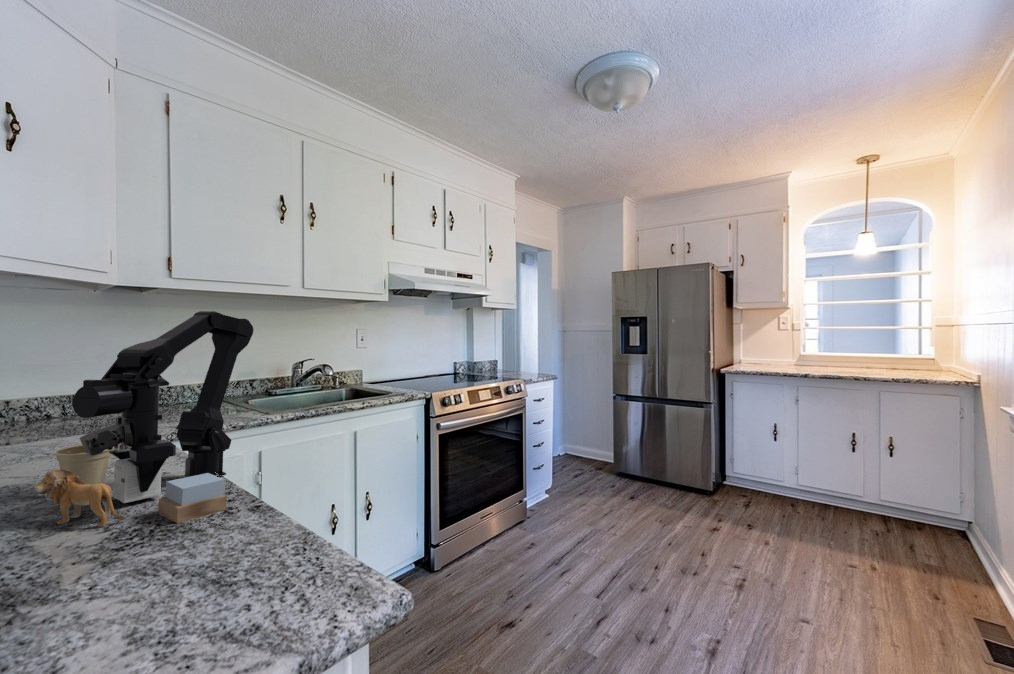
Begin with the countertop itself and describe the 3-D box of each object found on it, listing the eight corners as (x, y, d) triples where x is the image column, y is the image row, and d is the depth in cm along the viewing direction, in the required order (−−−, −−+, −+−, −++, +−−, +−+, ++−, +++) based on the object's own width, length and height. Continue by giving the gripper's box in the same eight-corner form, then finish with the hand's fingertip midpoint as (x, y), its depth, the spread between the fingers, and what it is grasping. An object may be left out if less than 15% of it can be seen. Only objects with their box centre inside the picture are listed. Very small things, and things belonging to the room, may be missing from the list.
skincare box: (112, 497, 87) (113, 460, 87) (150, 489, 92) (151, 454, 92) (123, 504, 83) (124, 465, 84) (161, 495, 88) (162, 458, 89)
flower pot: (83, 497, 89) (85, 454, 89) (38, 496, 89) (40, 453, 89) (125, 483, 98) (126, 444, 98) (83, 481, 98) (85, 443, 99)
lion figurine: (25, 527, 74) (28, 473, 75) (57, 515, 80) (59, 465, 80) (112, 528, 75) (115, 475, 75) (138, 516, 80) (140, 466, 80)
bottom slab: (206, 502, 88) (207, 487, 88) (226, 511, 84) (226, 495, 84) (158, 515, 81) (158, 499, 81) (177, 525, 77) (177, 508, 77)
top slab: (207, 487, 88) (207, 472, 88) (224, 495, 84) (225, 479, 84) (165, 497, 82) (166, 481, 82) (182, 505, 78) (182, 488, 78)
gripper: (71, 410, 86) (68, 490, 86) (102, 420, 76) (99, 511, 76) (141, 404, 96) (139, 476, 95) (178, 413, 85) (175, 493, 85)
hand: (137, 488), depth 88 cm, fingers closed on skincare box, 6 cm apart
